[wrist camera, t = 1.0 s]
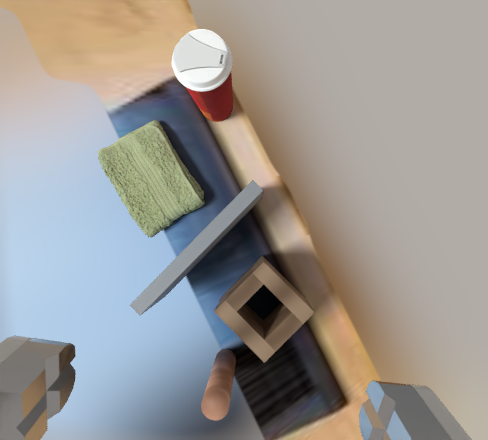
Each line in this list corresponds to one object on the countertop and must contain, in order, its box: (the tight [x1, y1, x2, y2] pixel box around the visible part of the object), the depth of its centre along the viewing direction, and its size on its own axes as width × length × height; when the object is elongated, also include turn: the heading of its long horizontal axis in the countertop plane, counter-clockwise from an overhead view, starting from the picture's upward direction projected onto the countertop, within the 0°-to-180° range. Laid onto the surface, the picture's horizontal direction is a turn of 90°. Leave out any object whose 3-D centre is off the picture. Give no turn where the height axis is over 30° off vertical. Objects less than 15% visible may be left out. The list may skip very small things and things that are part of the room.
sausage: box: [201, 349, 236, 420], centre depth 40 cm, size 4×4×12 cm
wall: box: [130, 180, 263, 315], centre depth 42 cm, size 2×24×10 cm, turn 135°
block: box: [214, 256, 315, 363], centre depth 42 cm, size 10×10×8 cm
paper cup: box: [172, 29, 233, 122], centre depth 40 cm, size 8×8×14 cm
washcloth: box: [98, 120, 205, 237], centre depth 46 cm, size 13×18×3 cm
